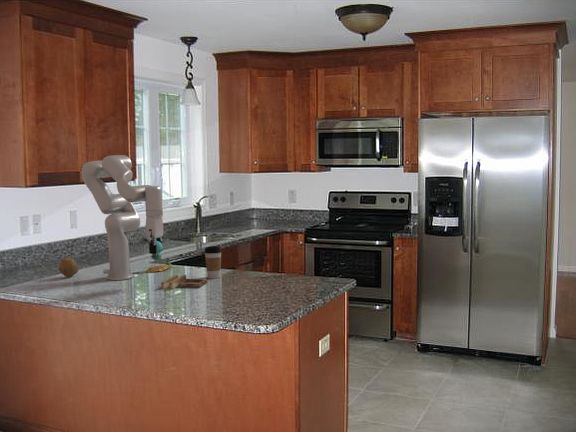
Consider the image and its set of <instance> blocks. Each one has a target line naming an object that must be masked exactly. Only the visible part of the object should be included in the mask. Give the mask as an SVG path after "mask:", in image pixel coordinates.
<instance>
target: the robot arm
mask: <svg viewBox="0 0 576 432" xmlns="http://www.w3.org/2000/svg"><path fill="white" fill-rule="evenodd" d="M132 164H133V163H132V160H131V158H130V157H128V156H127V155H125V154H117V155H115V154H114V155H107V156H105V157H104V158H103V159H102V160H92V161H88V162H86V163H84V164H83V166H82V169H81V177H82V180H83V182H84V184H85V187H87V189H88V190H89V192H90V193H91V195H92V196H93V198H94V200H95V203H96V204H97V206H98V208H99V210H100V211H101V213H102V214H104V215H107V216H106V218H104V219H105V220H104V228H105V232H106V236H107V244H108V245H107V247H108V261H109V268H108V269H106V268H104V269H103V270H102V274H104V275H105V274H107V276H106V279H107V280H109V281H125V280H130V279H132V278H134V274H133V273H132V272H131V264H130V263H131V261H130V247H129V240H128V238H127V236H126V234H125V233H127V232H132V231H133V232H134V231H136V230H138V229H139V228H140V226H141V218H140V215H139V214H138V213H139V212H138V211H137V209H136V208H135V206H134V204H133V203H142V202H145V239H146V240H147V242H148V246H149V247H148V248H149V249H148V251H149V254H150V255H152V254H156V245H155V242H156V241H159V242H160V243H161V244H162V245H163V241H164V240H163V238H164V237H163V236H164V221H163V215H164V214H163V213H164V212H163V211H164V210H163V190H162V187H161V186H158V185H150V184H142V185H133V186H132V185H131V184H129V183H130V182H131V180H132V179H133V171H132V170H131V169H132V166H133V165H132ZM102 178H105V179H106V178H112V179H113V180H114V181H115V182H116V189H117V192H118V193H115V194H114V193H113V192H112V191H111V189H110V187H109V186H108V185H107V183H106V182H104V181H103V180H102ZM163 250H164V249H162V251H161V252H163Z"/></svg>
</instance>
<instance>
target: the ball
mask: <svg viewBox="0 0 576 432" xmlns="http://www.w3.org/2000/svg"><path fill="white" fill-rule="evenodd" d="M155 245H156V254H159V253H162V252H163V251H162V249H163V248H164V247H163V243H162V244H161V243H160V242H159V241H156V242H155ZM163 250H164V249H163Z"/></svg>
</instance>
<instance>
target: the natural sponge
mask: <svg viewBox="0 0 576 432" xmlns="http://www.w3.org/2000/svg"><path fill="white" fill-rule="evenodd" d="M58 266H59V267H58V271H59V272H60V274H61V275H63V276H64V277H66V278H68V279H69V278H72V277H73V276H74V275H76V274H78V272H79V266H78V264H77V262H76V260H75V259H73V258H71V257H65V258H62V260H61V261H60V262H59V265H58Z"/></svg>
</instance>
